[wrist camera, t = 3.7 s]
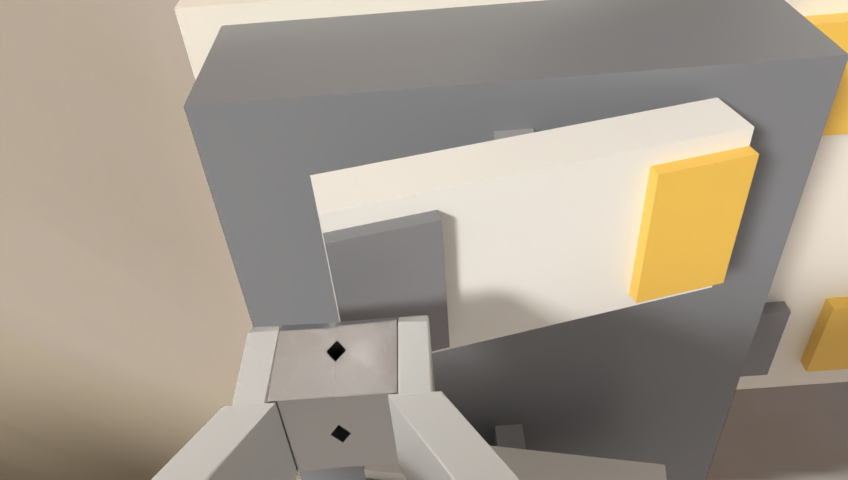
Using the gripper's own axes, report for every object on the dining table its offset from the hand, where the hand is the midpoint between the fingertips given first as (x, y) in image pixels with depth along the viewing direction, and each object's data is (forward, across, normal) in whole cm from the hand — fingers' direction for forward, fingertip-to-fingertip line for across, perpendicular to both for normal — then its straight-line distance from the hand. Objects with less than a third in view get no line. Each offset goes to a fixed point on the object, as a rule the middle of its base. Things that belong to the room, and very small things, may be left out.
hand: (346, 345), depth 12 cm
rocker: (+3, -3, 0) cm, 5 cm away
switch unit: (+9, -7, +5) cm, 13 cm away
